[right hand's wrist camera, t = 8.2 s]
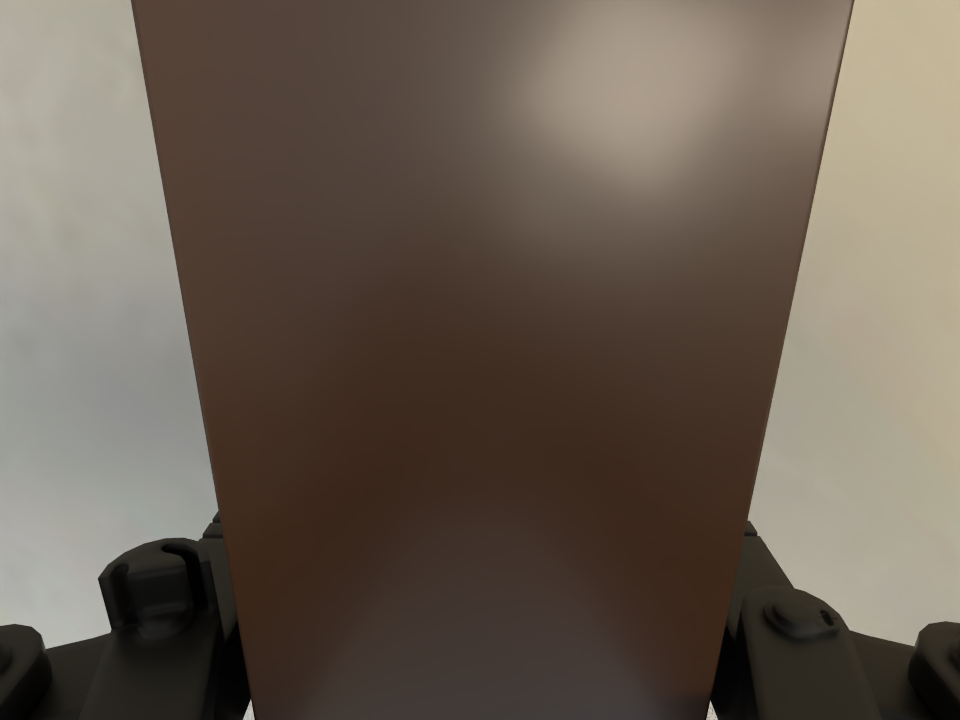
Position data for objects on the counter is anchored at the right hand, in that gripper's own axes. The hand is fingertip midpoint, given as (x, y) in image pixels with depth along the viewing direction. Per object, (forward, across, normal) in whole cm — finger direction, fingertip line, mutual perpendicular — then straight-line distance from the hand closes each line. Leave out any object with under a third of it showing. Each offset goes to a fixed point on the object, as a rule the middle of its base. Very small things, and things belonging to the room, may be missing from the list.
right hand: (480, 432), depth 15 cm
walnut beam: (0, 0, -12) cm, 12 cm away
